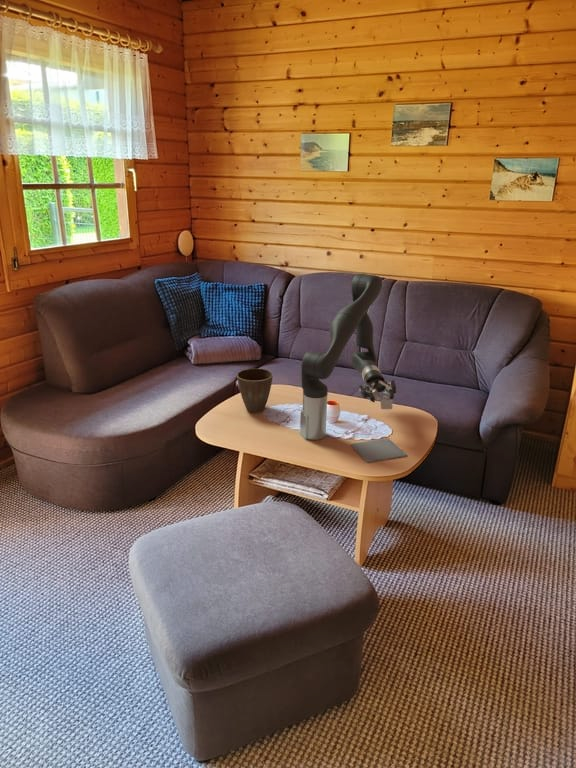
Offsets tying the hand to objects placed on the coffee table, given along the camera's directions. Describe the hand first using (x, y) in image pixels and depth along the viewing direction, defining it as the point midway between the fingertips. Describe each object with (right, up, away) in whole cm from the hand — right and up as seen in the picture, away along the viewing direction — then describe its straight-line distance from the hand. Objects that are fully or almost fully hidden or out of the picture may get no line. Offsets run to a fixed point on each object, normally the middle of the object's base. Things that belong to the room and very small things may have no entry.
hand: (382, 398), depth 205 cm
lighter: (+1, -4, +6) cm, 7 cm away
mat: (-2, -19, -1) cm, 19 cm away
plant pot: (-49, -6, +32) cm, 59 cm away
